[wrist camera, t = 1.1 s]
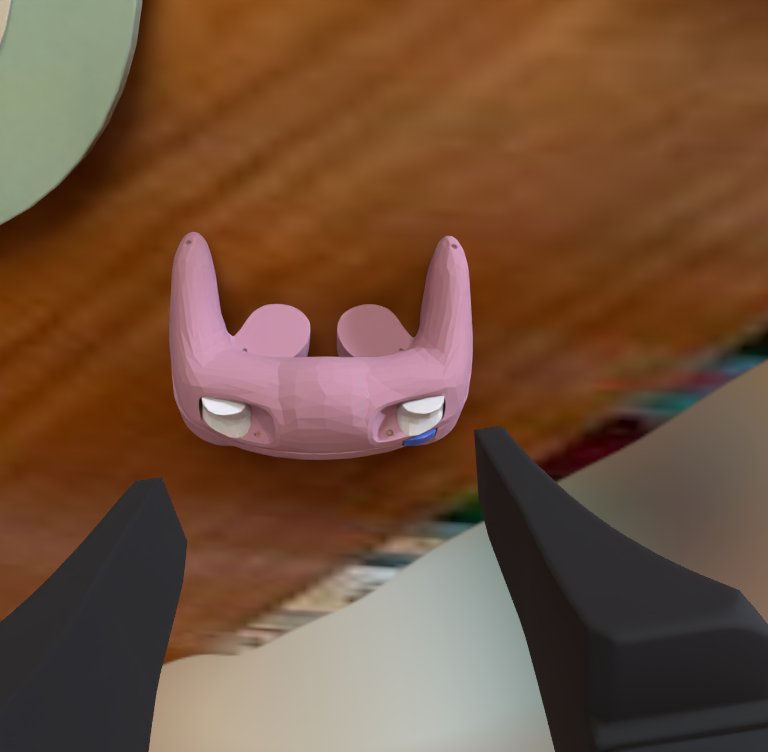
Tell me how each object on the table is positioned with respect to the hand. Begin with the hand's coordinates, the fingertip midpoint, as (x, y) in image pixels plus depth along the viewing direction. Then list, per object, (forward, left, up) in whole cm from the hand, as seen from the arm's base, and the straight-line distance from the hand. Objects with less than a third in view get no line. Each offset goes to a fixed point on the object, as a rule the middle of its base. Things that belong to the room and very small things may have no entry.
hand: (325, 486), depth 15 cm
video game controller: (0, 0, -10) cm, 10 cm away
